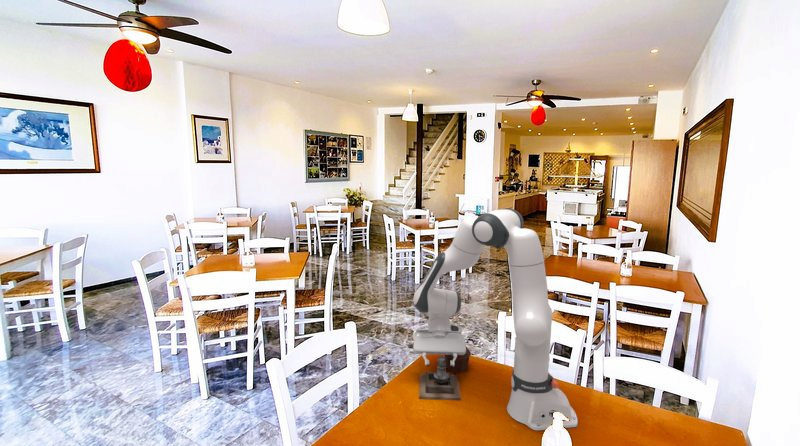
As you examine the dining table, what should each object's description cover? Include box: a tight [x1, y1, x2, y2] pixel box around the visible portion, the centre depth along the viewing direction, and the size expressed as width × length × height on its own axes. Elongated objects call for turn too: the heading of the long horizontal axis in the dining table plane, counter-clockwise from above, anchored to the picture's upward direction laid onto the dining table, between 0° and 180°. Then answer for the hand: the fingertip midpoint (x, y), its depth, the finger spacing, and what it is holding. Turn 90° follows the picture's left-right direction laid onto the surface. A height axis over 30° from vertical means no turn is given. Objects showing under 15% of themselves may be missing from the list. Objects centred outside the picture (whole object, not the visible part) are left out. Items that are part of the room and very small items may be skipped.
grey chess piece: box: [434, 355, 449, 386], centre depth 149 cm, size 6×6×12 cm
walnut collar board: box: [418, 371, 462, 401], centre depth 148 cm, size 15×15×4 cm
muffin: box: [444, 346, 472, 373], centre depth 163 cm, size 12×11×10 cm
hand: (439, 365), depth 147 cm, fingers open, 8 cm apart
